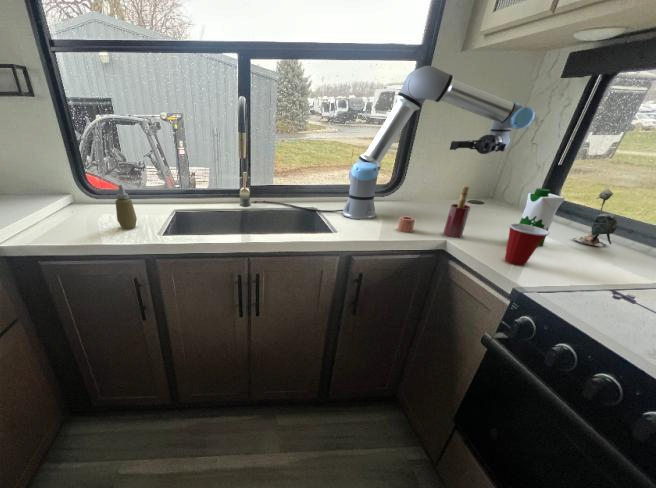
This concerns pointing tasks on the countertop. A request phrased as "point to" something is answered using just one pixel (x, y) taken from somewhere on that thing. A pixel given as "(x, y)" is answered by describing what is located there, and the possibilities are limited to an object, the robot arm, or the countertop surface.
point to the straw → (463, 197)
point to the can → (456, 221)
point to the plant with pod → (601, 224)
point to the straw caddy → (406, 224)
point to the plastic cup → (523, 242)
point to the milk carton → (541, 209)
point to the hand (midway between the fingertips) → (469, 147)
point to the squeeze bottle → (125, 210)
